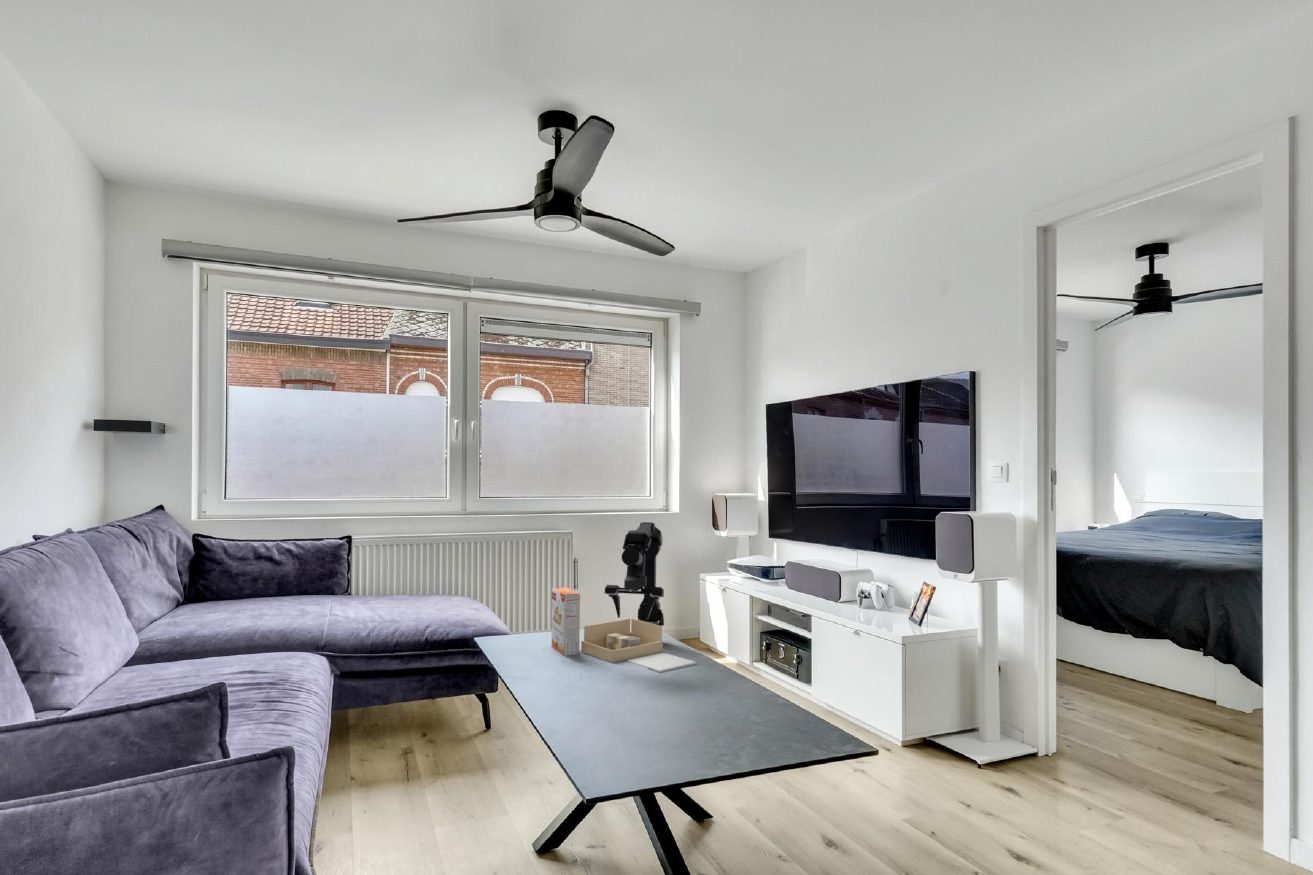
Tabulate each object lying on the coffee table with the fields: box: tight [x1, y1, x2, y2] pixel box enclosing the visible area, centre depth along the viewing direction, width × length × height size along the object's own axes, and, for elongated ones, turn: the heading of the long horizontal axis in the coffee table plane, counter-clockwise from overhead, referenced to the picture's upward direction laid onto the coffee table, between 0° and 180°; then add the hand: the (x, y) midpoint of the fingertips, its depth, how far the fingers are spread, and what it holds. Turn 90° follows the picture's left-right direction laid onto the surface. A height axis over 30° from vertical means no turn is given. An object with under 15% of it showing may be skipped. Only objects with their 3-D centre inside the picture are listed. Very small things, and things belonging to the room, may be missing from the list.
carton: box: [580, 618, 664, 663], centre depth 258 cm, size 22×17×9 cm
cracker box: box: [551, 586, 581, 656], centre depth 260 cm, size 14×6×21 cm, turn 25°
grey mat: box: [626, 651, 697, 674], centre depth 246 cm, size 16×16×1 cm
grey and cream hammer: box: [606, 633, 640, 650], centre depth 258 cm, size 13×5×5 cm, turn 41°
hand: (632, 618), depth 242 cm, fingers open, 9 cm apart
